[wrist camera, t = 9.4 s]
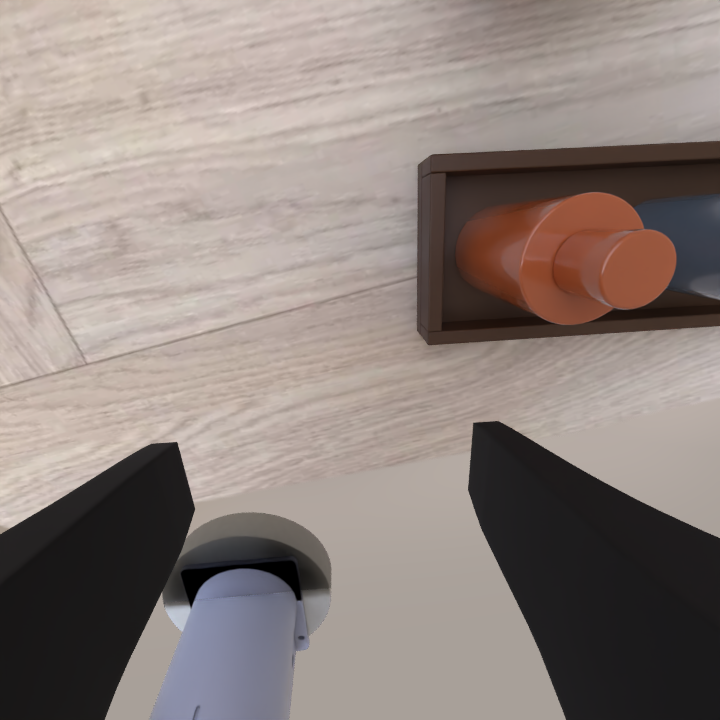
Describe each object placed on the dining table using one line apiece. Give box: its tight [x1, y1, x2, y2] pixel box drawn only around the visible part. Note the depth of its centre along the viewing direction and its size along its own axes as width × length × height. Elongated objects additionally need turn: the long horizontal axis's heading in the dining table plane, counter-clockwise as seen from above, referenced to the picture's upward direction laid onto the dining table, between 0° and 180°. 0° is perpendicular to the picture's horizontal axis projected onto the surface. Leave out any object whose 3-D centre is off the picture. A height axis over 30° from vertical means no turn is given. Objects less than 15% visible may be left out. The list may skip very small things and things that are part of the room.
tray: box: [417, 141, 720, 345], centre depth 16 cm, size 7×20×2 cm, turn 93°
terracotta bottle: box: [455, 192, 677, 325], centre depth 12 cm, size 4×4×8 cm
